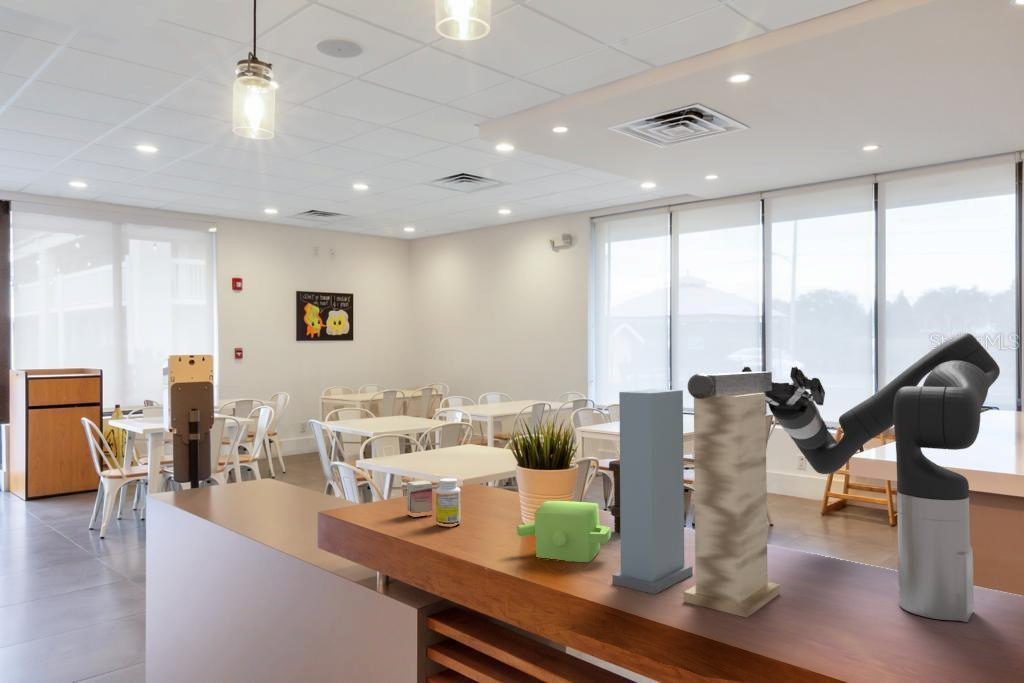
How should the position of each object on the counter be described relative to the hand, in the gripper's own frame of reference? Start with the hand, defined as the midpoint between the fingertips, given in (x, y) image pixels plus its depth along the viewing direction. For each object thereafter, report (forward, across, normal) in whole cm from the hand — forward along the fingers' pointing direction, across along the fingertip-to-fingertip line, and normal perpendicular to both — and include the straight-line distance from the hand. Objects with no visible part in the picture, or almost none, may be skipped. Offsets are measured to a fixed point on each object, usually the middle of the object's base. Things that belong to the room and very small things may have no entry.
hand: (768, 371), depth 123 cm
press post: (-3, +14, -39) cm, 42 cm away
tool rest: (-3, 0, -39) cm, 40 cm away
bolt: (-23, +35, -27) cm, 50 cm away
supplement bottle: (-6, +68, -37) cm, 77 cm away
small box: (-8, +80, -36) cm, 88 cm away
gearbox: (-4, +34, -39) cm, 52 cm away
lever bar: (+13, 0, -12) cm, 17 cm away
